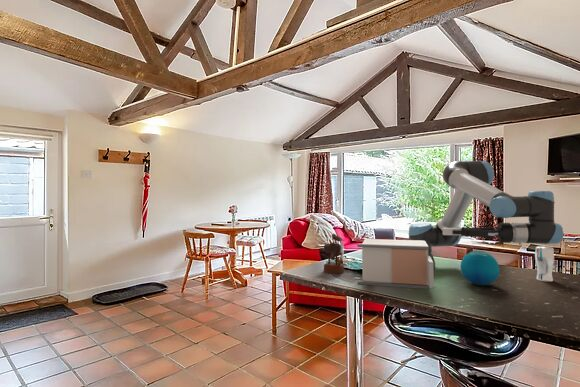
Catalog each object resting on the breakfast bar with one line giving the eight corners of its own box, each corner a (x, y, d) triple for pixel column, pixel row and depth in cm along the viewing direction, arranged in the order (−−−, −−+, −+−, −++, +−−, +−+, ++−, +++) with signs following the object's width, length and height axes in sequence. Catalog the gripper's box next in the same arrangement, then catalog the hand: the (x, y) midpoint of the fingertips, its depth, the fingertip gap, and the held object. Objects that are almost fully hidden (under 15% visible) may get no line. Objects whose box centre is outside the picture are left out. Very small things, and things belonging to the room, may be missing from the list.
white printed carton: (554, 279, 154) (554, 247, 154) (553, 282, 149) (553, 249, 149) (536, 277, 159) (536, 245, 159) (534, 280, 154) (533, 247, 154)
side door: (392, 291, 136) (391, 254, 135) (392, 282, 149) (391, 248, 149) (433, 294, 131) (433, 255, 131) (429, 284, 144) (429, 249, 144)
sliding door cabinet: (357, 284, 152) (357, 244, 151) (361, 274, 169) (360, 238, 168) (429, 288, 143) (428, 246, 143) (425, 278, 160) (424, 240, 160)
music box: (350, 270, 176) (348, 233, 175) (340, 277, 168) (338, 237, 166) (325, 266, 186) (323, 231, 184) (315, 272, 177) (312, 235, 175)
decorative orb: (457, 286, 146) (457, 251, 146) (463, 278, 158) (463, 246, 158) (497, 292, 137) (497, 255, 137) (501, 283, 149) (501, 250, 149)
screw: (338, 264, 190) (337, 263, 195) (347, 264, 191) (345, 262, 195) (338, 242, 190) (336, 240, 195) (346, 241, 190) (345, 240, 195)
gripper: (517, 245, 120) (445, 243, 127) (505, 240, 132) (440, 238, 139) (517, 224, 120) (445, 223, 127) (505, 221, 132) (440, 220, 139)
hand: (442, 231), depth 133 cm, fingers closed
